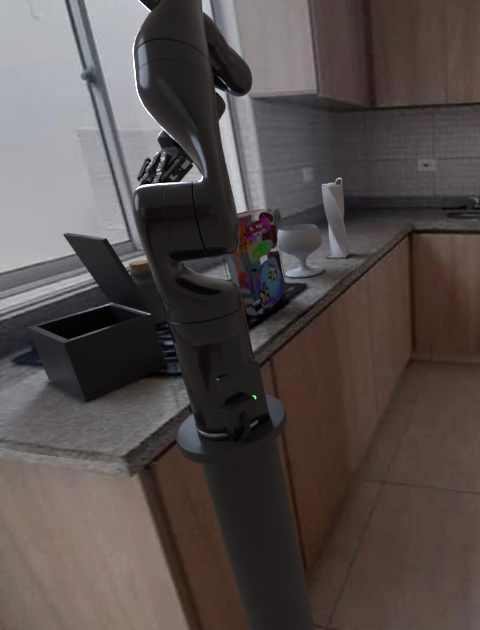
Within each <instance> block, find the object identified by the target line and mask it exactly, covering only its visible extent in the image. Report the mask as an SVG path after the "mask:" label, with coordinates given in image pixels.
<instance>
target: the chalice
mask: <svg viewBox="0 0 480 630" xmlns="http://www.w3.org/2000/svg"><path fill="white" fill-rule="evenodd" d="M277 230H278V231H277V237H278V239H277V240H278V242H279V240H280V242H279V244H278V243H277V247H278V248H279V247H280V246H281V248H280V249H279V251H280V252H282V253H285V254H288V255H290V256H292V257H294V258H296V259H297V260H298V261H299V267H295V268H292V269H289V270H287V271H286V272H285V273H284V275H285V277H290V278H306V277H307V278H308V277H312V276H316V275H318V274H320V273H323V271H324V269H323V268H322V267H320V266H311V265H310V266H309V265H308V264H307V259H308V258H309V256H310V255H311V254H313V253H314V252H316V251H317V250H318V249H320V247H321V245H322V243H323V237H322V234H321V231H320V228H319V227H318V226H317V225H316V224H312V223H300V224H299V223H298V224H290V225H285V226H281V227H279V228H278V229H277ZM278 234H279V236H278Z"/></svg>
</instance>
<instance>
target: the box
mask: <svg viewBox="0 0 480 630" xmlns="http://www.w3.org/2000/svg"><path fill="white" fill-rule="evenodd" d="M272 211H273V212H272ZM237 216H238V221H239V229H240V242H239V247H238V249H237V251H236V252H235V253H234V254H231V255H228V256H222V257H221V258H222V259H224V258H225V257H226V263H225V260H222V261H223V266H224V269H225V273H226V280H228V281H231V282H233V283H235V284H236V285H237V286H238V287H239V289H240V292H241V296H242V301H243V306H244V309H245V315H247V317H249V316H252V317H253V316H256V315H257V316H258V317H263V316H265V315H266V313H264V314H263V315H260V313H259V309H261V308H263V309H266V308H271V307H273V306H274V305H276V304H277V303H278V302H280V303H279V304H277V305H276V306H274V307H273V308H272V310H274V309H275V308H276V307H279V305H280V306H281V305H282V302H283V301H280V299H283V300H285V299H286V297H287V294H288V293H287V290H288V288H287V286H286V284H287V281H286V280H285V278H286V275H285V274H284V273H285V272H284V269H283V268H284V267H283V257H282V255H283V254H282V253H283V252H280V248H281V246H280V247H278V245H277V243H278V244H279V242H280V240H279V242H278V240H277V239H278V237H277V234H278V230H279V228H280V226H281V223H282V215H281V211H280V209H279V208H275V209H274V210H272V208H269V209H266V210H265V209H263V208H258V209H254V210H249V211H244V212H240V213H239V214H237ZM255 217H258V219H256V220H253V219H255ZM272 222H273V223H272ZM271 223H272V224H271ZM278 236H279V234H278ZM257 237H260V238H261V240H258V239H257ZM276 247H278V249H277V250H274V251H271V250H273V249H275V248H276ZM265 256H266V257H267V259H266V260H263V262H261V260H262V259H261V258H262V257H263V258H264V257H265ZM226 264H227V267H226ZM227 268H228V272H227ZM228 273H229V274H228ZM228 275H229V276H228ZM229 277H230V279H229ZM284 292H285V295H284V296H283V294H284ZM258 301H260V305H261V307H259V308H258V307H256V306H258V303H257V302H258ZM252 304H254V305H253V307H249V306H250V305H252ZM286 304H287V302H285V303H284V305H286ZM254 307H255V308H254ZM255 309H256V310H255ZM278 310H279V308H277V309H276V311H278ZM270 312H271V310H269V311H268V313H270ZM274 313H275V311H273V312H272V313H271V314H269V315H267V316H266V317H265V318H263V319H261V320H259V318H257V321H258V323H259V322H262V321H263V320H265V319H267V318H268V317H269V316H271V315H272V314H274ZM246 320H247V321H248V319H247V318H246ZM250 322H253V323H256V321H255V320H252V319H250Z"/></svg>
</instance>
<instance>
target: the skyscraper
mask: <svg viewBox="0 0 480 630" xmlns="http://www.w3.org/2000/svg"><path fill="white" fill-rule="evenodd" d="M338 180H340V184H337V181H338ZM321 194H322V195H321V196H322V202H323V208H324V212H325V216H326V220H327V224H328V243H329V252H330V254H329V255H328V256H327V257H326V259H327V260H337V259H338V260H339V259H347V257H349V256H350V255H351V252H350V249H349V242H348V235H347V228H346V225H345V221H344V219H345V218H344V217H345V199H344V198H345V197H344V188H343V178H342V177H337V178H336V179H335V180H334V182H327V183H322V184H321Z"/></svg>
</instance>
